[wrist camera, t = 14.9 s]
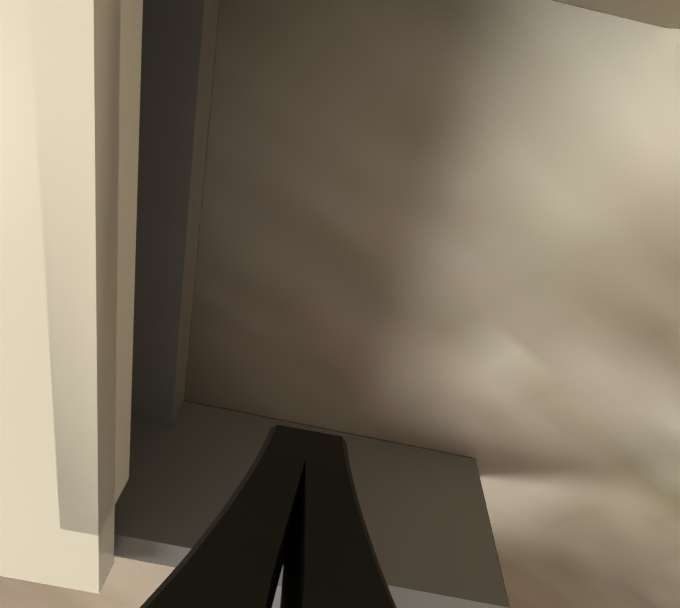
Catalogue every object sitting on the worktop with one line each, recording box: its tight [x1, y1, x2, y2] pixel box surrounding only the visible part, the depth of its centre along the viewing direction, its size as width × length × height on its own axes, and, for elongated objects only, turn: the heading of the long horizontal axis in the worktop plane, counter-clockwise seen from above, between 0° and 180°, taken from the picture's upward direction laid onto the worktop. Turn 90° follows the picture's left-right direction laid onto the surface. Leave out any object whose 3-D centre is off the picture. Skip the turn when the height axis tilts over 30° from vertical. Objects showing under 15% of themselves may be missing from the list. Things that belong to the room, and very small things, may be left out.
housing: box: [114, 0, 680, 608], centre depth 15 cm, size 18×26×6 cm
